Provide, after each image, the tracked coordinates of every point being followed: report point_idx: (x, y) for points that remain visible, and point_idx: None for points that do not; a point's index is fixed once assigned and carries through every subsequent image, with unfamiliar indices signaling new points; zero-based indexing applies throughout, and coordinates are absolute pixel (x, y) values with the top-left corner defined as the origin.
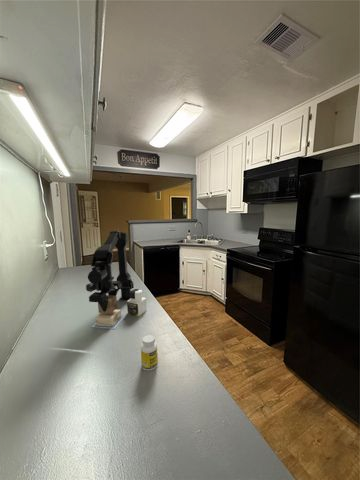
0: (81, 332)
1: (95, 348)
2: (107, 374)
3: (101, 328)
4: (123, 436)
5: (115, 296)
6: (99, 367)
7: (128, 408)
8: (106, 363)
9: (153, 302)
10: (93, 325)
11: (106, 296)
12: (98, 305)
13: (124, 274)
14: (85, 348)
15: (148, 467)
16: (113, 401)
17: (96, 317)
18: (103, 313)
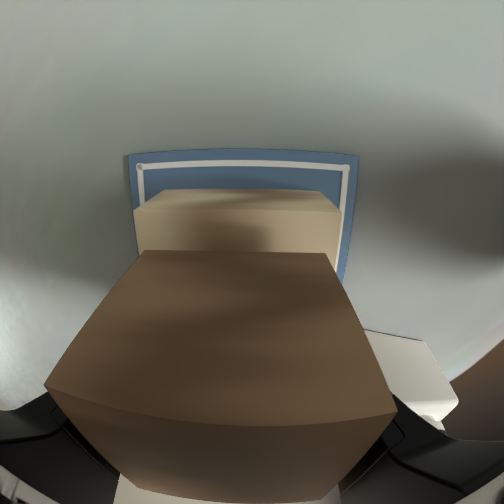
0: (85, 126)
1: (35, 297)
2: (18, 363)
3: (138, 252)
4: (3, 392)
5: (296, 500)
6: (13, 341)
7: (18, 397)
8: (28, 353)
9: (450, 378)
10: (153, 164)
11: (294, 464)
12: (95, 318)
13: None
14: (18, 255)
15: (10, 409)
16: (8, 380)
17: (134, 216)
18: (225, 248)
